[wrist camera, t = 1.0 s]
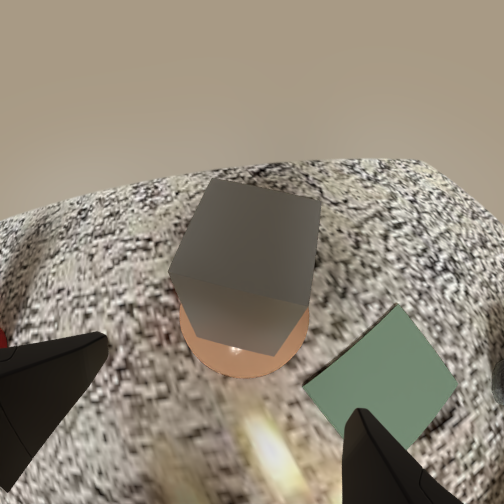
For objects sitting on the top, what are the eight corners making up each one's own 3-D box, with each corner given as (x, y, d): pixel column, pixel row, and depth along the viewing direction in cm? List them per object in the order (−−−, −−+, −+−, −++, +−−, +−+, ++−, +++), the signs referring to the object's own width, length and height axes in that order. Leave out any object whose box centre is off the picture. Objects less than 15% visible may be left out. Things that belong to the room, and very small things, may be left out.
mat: (375, 477, 16) (378, 478, 15) (302, 386, 21) (303, 386, 20) (455, 384, 20) (458, 383, 20) (396, 305, 25) (398, 303, 25)
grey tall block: (274, 356, 21) (308, 306, 12) (196, 336, 21) (167, 271, 12) (288, 287, 24) (321, 201, 15) (218, 270, 25) (212, 177, 16)
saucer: (225, 402, 20) (222, 400, 16) (162, 298, 24) (147, 272, 20) (328, 332, 24) (349, 312, 19) (259, 246, 28) (264, 213, 24)
